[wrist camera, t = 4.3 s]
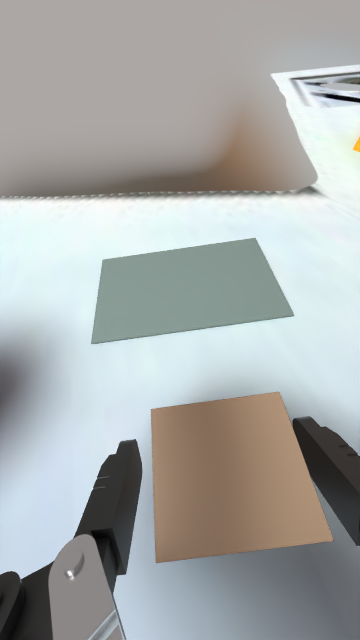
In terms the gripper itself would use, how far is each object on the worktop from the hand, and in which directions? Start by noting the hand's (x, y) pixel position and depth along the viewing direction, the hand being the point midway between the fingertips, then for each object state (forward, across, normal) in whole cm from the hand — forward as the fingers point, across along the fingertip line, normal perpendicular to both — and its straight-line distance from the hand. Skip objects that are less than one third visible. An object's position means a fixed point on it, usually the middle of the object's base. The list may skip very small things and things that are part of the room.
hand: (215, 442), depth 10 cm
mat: (+15, 0, -7) cm, 16 cm away
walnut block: (+3, 0, +4) cm, 5 cm away
